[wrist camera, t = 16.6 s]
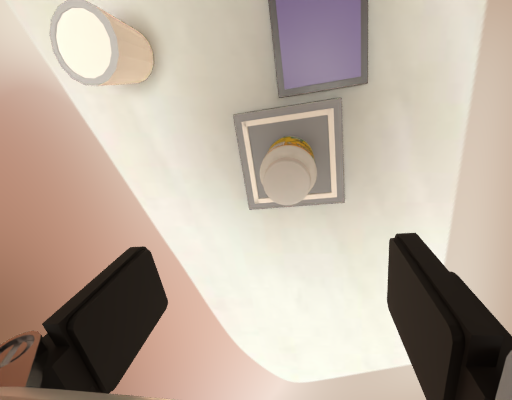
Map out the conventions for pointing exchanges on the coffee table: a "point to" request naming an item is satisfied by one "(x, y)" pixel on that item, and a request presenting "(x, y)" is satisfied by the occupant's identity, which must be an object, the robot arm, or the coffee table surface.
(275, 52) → the ink pad
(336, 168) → the grey square tile
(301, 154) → the supplement bottle
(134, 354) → the robot arm
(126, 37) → the white short cylinder
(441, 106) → the coffee table surface
